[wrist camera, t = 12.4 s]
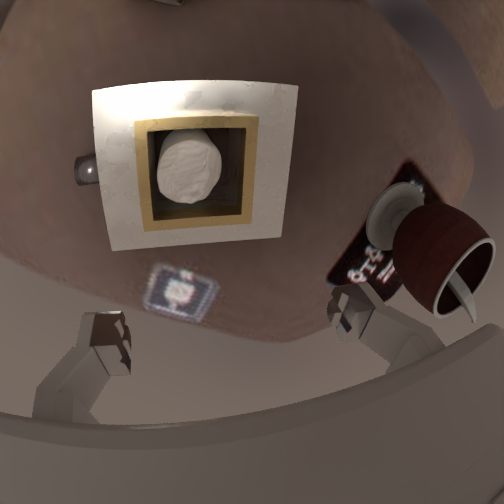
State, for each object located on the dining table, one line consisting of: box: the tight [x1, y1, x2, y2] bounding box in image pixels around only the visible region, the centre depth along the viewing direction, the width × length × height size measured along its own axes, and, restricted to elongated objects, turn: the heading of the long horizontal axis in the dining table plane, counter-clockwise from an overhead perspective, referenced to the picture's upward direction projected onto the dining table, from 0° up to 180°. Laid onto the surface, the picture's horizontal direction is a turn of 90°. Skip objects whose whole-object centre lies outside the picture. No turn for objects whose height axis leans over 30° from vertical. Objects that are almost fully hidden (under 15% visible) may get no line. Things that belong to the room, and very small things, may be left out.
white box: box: [74, 80, 298, 251], centre depth 26 cm, size 21×16×8 cm
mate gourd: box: [366, 182, 496, 323], centre depth 35 cm, size 16×14×20 cm
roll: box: [157, 128, 222, 204], centre depth 24 cm, size 6×12×6 cm
